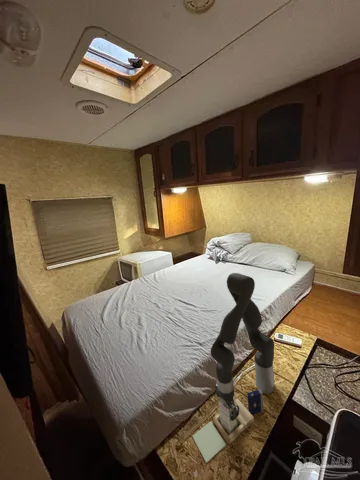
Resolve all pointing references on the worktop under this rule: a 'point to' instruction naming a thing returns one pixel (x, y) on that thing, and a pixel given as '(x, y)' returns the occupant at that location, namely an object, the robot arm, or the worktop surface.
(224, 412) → the syrup box
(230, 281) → the robot arm
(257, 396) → the cassette player
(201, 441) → the sage mat
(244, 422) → the wooden frame
